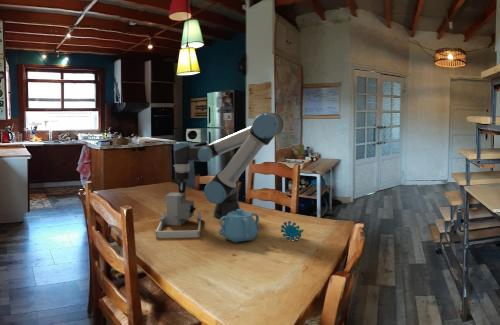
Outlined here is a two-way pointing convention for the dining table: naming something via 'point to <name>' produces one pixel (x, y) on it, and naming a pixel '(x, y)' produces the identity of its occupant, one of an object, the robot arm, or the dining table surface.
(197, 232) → the parts bay
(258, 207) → the dining table surface
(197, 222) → the dark gray open bay
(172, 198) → the circuit breaker
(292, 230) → the teal spiky ornament
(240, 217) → the decorative pot
